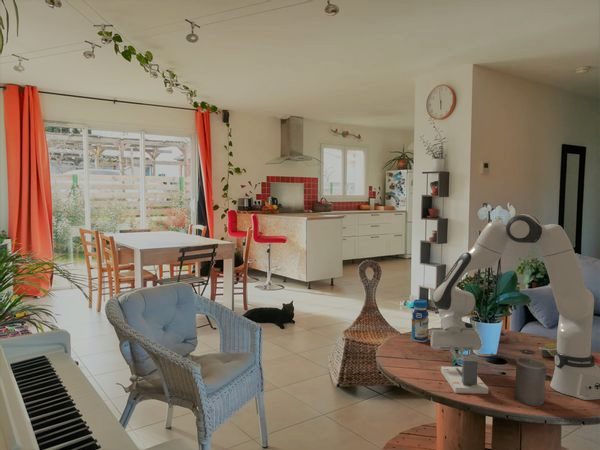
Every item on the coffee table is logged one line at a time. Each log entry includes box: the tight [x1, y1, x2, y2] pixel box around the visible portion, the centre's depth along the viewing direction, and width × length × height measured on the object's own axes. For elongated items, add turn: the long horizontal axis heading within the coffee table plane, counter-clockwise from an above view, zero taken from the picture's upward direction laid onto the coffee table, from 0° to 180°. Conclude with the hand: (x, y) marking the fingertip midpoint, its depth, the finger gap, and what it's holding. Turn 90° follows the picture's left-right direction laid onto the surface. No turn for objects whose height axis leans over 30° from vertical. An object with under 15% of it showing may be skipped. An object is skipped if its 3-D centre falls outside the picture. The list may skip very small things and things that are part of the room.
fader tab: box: [461, 353, 479, 385], centre depth 175 cm, size 6×2×11 cm, turn 88°
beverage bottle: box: [410, 299, 430, 343], centre depth 234 cm, size 8×8×20 cm
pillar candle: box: [514, 357, 547, 407], centre depth 166 cm, size 10×10×15 cm
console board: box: [440, 366, 489, 395], centre depth 182 cm, size 12×21×2 cm, turn 177°
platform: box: [538, 342, 557, 358], centre depth 210 cm, size 12×18×7 cm, turn 108°
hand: (458, 358), depth 188 cm, fingers closed
